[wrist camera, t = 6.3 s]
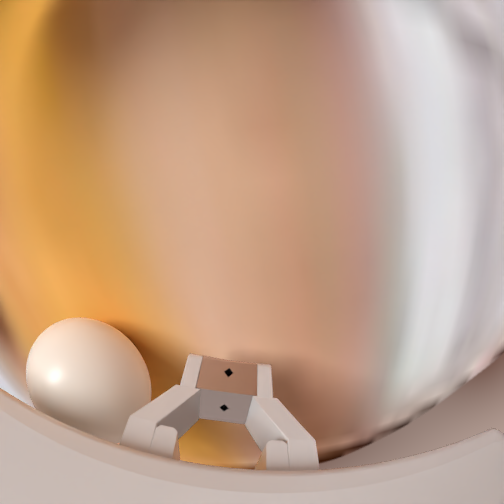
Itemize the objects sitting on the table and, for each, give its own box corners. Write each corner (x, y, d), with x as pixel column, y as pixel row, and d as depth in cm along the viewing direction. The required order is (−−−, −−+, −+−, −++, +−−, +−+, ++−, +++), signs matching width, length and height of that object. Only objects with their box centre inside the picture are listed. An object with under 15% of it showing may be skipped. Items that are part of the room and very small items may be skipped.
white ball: (23, 437, 4) (-1, 308, 7) (77, 474, 7) (39, 380, 10) (178, 380, 8) (114, 275, 11) (176, 433, 11) (124, 351, 14)
